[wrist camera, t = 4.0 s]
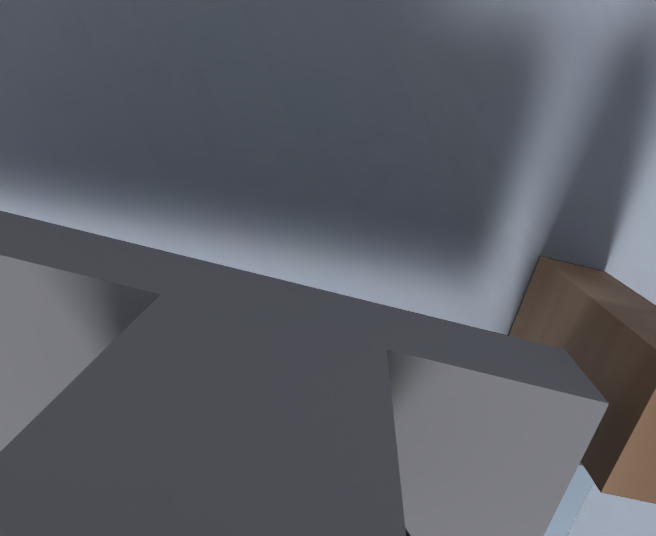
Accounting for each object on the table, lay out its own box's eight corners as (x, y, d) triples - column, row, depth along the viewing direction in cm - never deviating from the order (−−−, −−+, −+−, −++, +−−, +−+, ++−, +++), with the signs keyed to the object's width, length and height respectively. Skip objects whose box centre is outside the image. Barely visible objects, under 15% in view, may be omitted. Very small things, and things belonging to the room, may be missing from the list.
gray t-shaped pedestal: (565, 349, 11) (898, 757, 4) (486, 526, 12) (632, 1025, 6) (-182, 166, 10) (-1124, 285, 4) (-162, 372, 12) (-803, 708, 5)
